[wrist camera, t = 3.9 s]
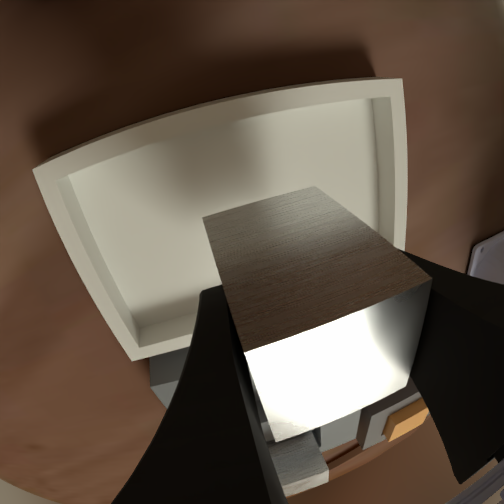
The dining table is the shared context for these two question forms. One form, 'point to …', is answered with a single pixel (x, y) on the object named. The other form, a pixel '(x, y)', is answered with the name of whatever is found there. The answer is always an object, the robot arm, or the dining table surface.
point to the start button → (405, 419)
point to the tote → (216, 191)
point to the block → (298, 463)
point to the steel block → (317, 306)
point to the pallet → (327, 436)
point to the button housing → (383, 414)
